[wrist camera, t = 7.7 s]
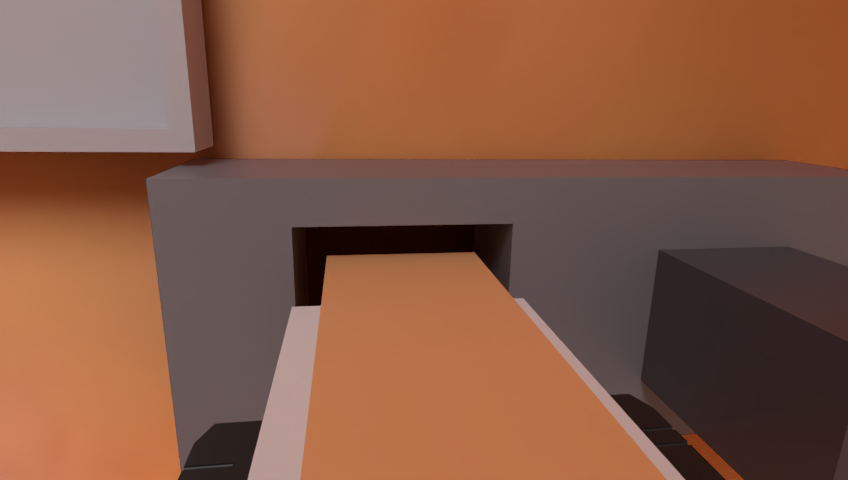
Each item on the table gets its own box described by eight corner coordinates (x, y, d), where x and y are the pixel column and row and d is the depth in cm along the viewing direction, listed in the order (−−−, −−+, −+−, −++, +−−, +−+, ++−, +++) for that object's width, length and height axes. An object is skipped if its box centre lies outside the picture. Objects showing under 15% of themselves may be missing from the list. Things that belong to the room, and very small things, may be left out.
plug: (326, 255, 14) (284, 605, 4) (474, 251, 14) (729, 552, 5) (331, 390, 15) (305, 916, 5) (468, 382, 15) (669, 841, 6)
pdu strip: (193, 159, 16) (-39, 253, 6) (783, 160, 19) (1243, 226, 9) (216, 394, 18) (69, 734, 8) (743, 362, 21) (1083, 589, 11)
